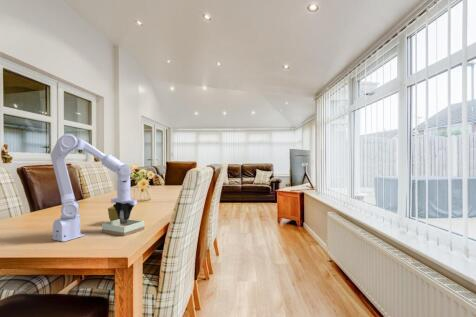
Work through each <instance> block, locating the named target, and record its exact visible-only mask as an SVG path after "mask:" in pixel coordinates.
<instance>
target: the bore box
mask: <svg viewBox="0 0 476 317" xmlns="http://www.w3.org/2000/svg"><path fill="white" fill-rule="evenodd" d="M144 230H145V220H138V219H134V218H133V219H131V218H129V219H127V223H125V224H120V219H118V220H114V221H110V220H109V221H107V222H103V223H101V233H103V234H108V235H109V234H111V235H115V236H121V237H126V236H129V235H132V234H135V233H138V232H140V231H141V232H142V231H144Z"/></svg>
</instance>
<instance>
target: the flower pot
mask: <svg viewBox="0 0 476 317" xmlns="http://www.w3.org/2000/svg"><path fill="white" fill-rule="evenodd" d="M107 214H108V219H109V222H110V221H114V220H118V219H119V218H118V215H117V212H116V209H115V208H114V206H113V205H112V206H110V207H107Z"/></svg>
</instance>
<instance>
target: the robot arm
mask: <svg viewBox="0 0 476 317" xmlns="http://www.w3.org/2000/svg"><path fill="white" fill-rule="evenodd" d="M55 142H56V143H55V145H54V147H53V149H52V151H51V153H50V158H51V163H52V167H53V171H54V175H55V178H56V182H57V186H58V187H57V188H58V191H59V194H60V201H61V210H60V213H61V215H60V217H59V218H57V219H56V220H54V221H53V224H52V237H51V240H54V241H57V242H62V243H63V242H68V241H70V240H75V239H79V238H81V237H85V236H86V235H85V234H83V233H81V214H80V213H79V211H80V203H79V201H77V199H76V197H75V193H74V190H73V187H72V182H71V178H70V173H69V170H68V166H67V163H66V156H68V155H69V153H70V152H71V151H73V150H75V149H77V150H79V151H85V152H87V153H89V154H90V155H92V156H93V157H95V158H97V159H98V160H100V162H101V166H104V167H106V168H107V169H108V170H110V171H112V172H113V173H116V174H117V180H116V183H117V184H116V197H112V198H110V203H113V205H112V206H114V208H115V209H116V212H117V215H118V218H119V219H120V210H123V211H124V220H127V219H130V216H131V212H132V210H133V208H134V206H136V205H138V200H137V199H134V198H131V174H132V168H131V167H130V166H129V165H127V164H125V161H121V160H119V159H118V158H116V155H114V154H110V153H109V154H105V153H103V152H102V151H100V150H99V149H98V148H96V147H95V146H93V145H91V144H90V143H89V142H88V141H85V140H84V139H82V138H79V137H76V136H75V135H73V134H70V133H66V134H63V135H61V136H60V138H58V139H57V140H56V141H55Z"/></svg>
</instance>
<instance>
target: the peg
mask: <svg viewBox="0 0 476 317" xmlns="http://www.w3.org/2000/svg"><path fill="white" fill-rule="evenodd" d="M125 223H127V220H124V211H123V210H120V224H125Z"/></svg>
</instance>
